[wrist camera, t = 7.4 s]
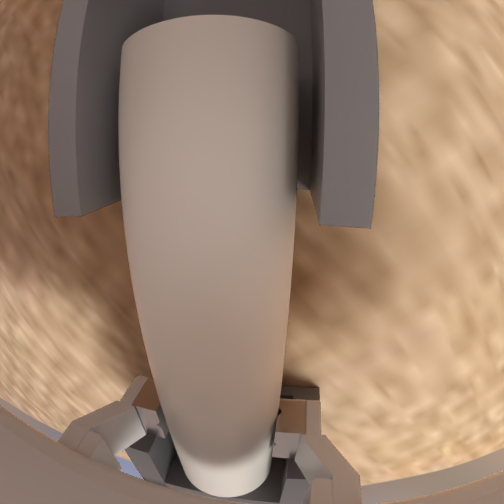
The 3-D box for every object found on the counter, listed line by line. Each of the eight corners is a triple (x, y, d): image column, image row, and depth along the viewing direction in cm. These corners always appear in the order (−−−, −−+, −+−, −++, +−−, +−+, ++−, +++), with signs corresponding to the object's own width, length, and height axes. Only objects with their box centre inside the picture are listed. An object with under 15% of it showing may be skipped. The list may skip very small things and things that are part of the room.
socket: (164, 368, 13) (121, 444, 9) (319, 387, 12) (319, 479, 8) (175, 415, 15) (146, 482, 10) (307, 433, 14) (303, 510, 9)
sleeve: (162, -41, 7) (100, -98, 2) (328, -54, 6) (336, -135, 1) (149, 182, 10) (54, 216, 6) (335, 187, 9) (370, 228, 5)
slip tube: (165, 75, 8) (85, 43, 4) (299, 67, 7) (299, 9, 3) (195, 422, 13) (171, 485, 9) (275, 434, 12) (265, 503, 9)
